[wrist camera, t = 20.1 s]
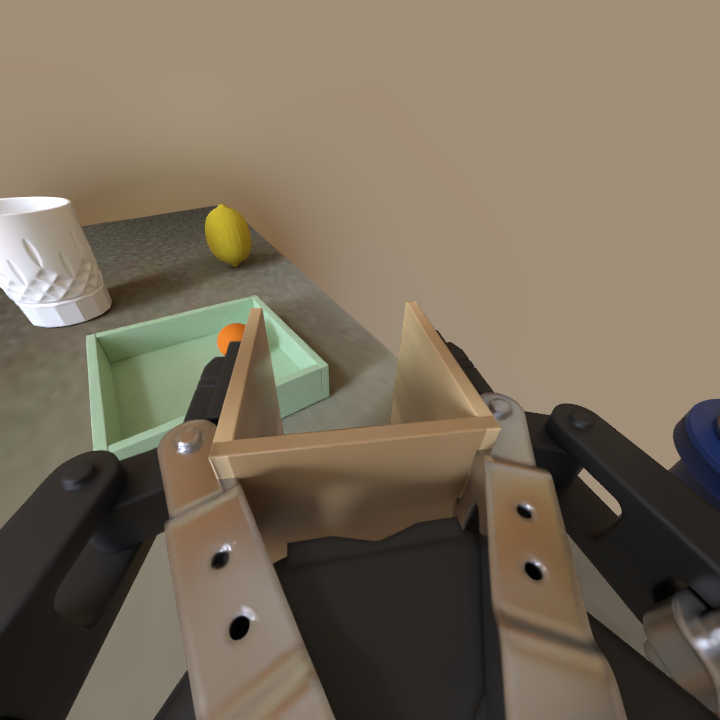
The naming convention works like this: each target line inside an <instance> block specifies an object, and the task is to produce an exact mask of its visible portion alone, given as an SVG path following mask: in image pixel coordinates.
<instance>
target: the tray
mask: <svg viewBox="0 0 720 720" xmlns="http://www.w3.org/2000/svg"><path fill="white" fill-rule="evenodd" d="M251 308H262V309H263V314H264V320H265V326H266V332H267V338H268V343H269V349H270V355H271V361H272V367H273V373H274V379H275V385H276V390H277V396H278V402H279V408H280V414H281V419H282V418H284V417H286V416H288V415H290V414H292V413H295V412H297V411H299V410H301V409H303V408H305V407H308V406H310V405H312V404H314V403H316V402H318V401H321V400H323V399H325V398H327V397H329V396H330V392H329V367H328V364H327V363H326V362H325V361H324V360H323V359H322V358H321V357H320V356H319V355H318V354H317V353H315V352H314V351H313V350H312V349H311V348H310V347H309V346H308V345H307V344H306V343H305V342H304V341H303V340H302V339H301V338H300V337H299V336H298V335H297V334H296V333H295V332H294V331H293V330H292V329H291V328H290V327H289V326H288V325H286V324H285V323H284V322H283V321H282V320H281V319H280V318H279V317H278V316H277V315H276V314H275V313H274V312H273V311H272V310H271V309H270V308H269V307H268V306H267V305H266V304H265V303H264V302H263V301H262V300H261V299H260V298H259V297H258V296H256V295H254V296H251V297H246V298H242V299H238V300H234V301H229V302H225V303H221V304H217V305H213V306H209V307H204V308H200V309H196V310H192V311H188V312H184V313H179V314H175V315H171V316H167V317H163V318H159V319H154V320H150V321H146V322H142V323H138V324H134V325H129V326H125V327H121V328H117V329H113V330H109V331H105V332H100V333H96V334H92V335H88V336H86V346H87V361H88V376H89V391H90V406H91V422H92V437H93V451H96V450H105V451H110V452H112V453H114V454H115V455H116V456H117V458H118V459H119V460H122V459H125V458H128V457H131V456H134V455H137V454H140V453H143V452H146V451H149V450H152V449H154V448H156V447H158V445H159V442H160V440H161V439H162V437H163V436H164V435H165V434H166V433H167V432H168V431H170V430H171V429H172V428H174V427H176V426H177V425H179V424H182V423H183V421H184V419H185V416H186V413H187V411H188V408H189V406H190V403H191V400H192V398H193V395H194V393H195V390H196V389H197V385H198V382H199V380H200V377H201V375H202V372H203V369H204V367H205V366H206V365H207V364H208V363H209V362H210V361H211V360H212V359H213V358H214V357H222V356H224V355H223V354H222V353H221V352H220V350H219V348H218V345H217V338H218V334H219V333H220V331H221V330H222V329H223V328H224V327H225V326H227V325H229V324H232V323H241V324H244V325H246V323H247V319H248V316H249V312H250V309H251Z"/></svg>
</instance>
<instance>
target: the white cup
mask: <svg viewBox="0 0 720 720" xmlns="http://www.w3.org/2000/svg"><path fill="white" fill-rule="evenodd" d="M0 287H1V288H2V289H3V290H4V291H5V293H6V294H7V296H8V297H9V298H10V299H12V300H14V302H15V303H16V304H17V305H18V306H19V308H20V309H21V310H22V312H23V313H24V314H25V316H26V317H27V318H28V319H29V320H30V322H31V323H32V324H33V325H35V326H41V327H48V328H49V327H61V326H69V325H73V324H78V323H81V322H85V321H88V320H90V319H93V318H95V317H97V316H100V315H102V314H103V313H104V312H106V311H107V310H108V309H110V307H111V304H112V300H111V297H110V295H109V293H108V291H107V288H106V286H105V284H104V282H103V279H102V275H101V272H100V269H99V267H98V265H97V263H96V260H95V257H94V254H93V252H92V250H91V247H90V245H89V243H88V240H87V238H86V236H85V233H84V231H83V229H82V227H81V224H80V222H79V220H78V217H77V215H76V213H75V210H74V208H73V206H72V203H71V201H70V200H68V199H64V198H57V197H17V198H2V199H0Z"/></svg>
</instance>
